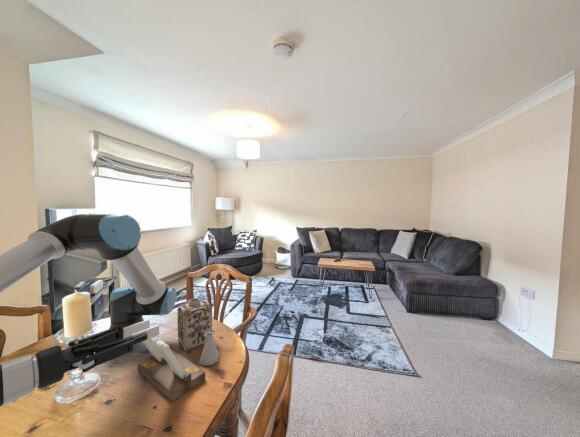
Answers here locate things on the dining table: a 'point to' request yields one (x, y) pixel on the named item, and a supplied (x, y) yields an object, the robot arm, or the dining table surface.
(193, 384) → the switch panel
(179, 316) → the decorative jar
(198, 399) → the dining table surface
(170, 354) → the switch
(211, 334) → the flask
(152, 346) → the switch
